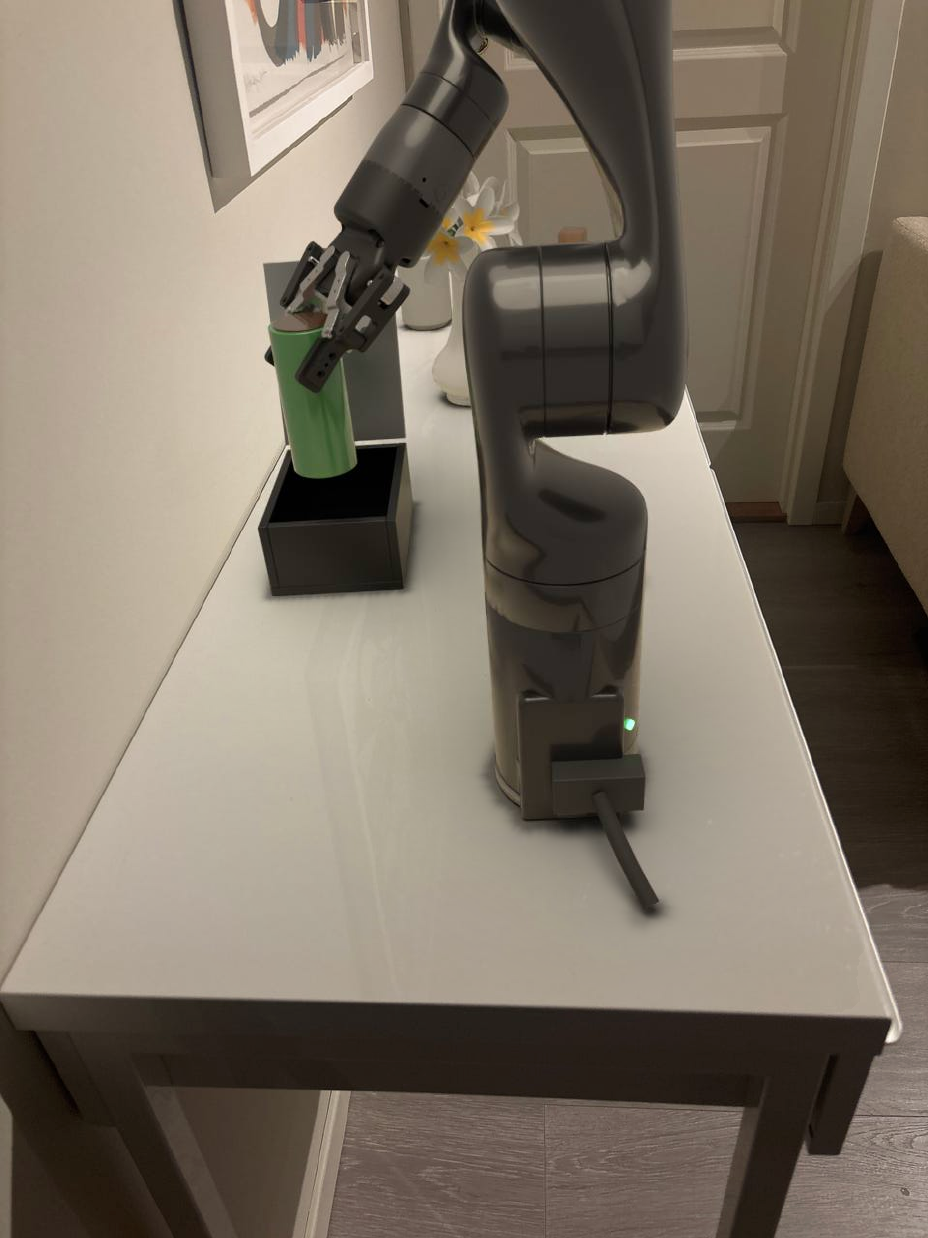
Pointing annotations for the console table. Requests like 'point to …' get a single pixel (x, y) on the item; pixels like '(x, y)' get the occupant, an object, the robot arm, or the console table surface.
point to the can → (425, 298)
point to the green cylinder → (312, 401)
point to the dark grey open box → (340, 526)
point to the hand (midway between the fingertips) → (289, 375)
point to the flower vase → (466, 267)
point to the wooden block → (572, 234)
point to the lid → (356, 369)
